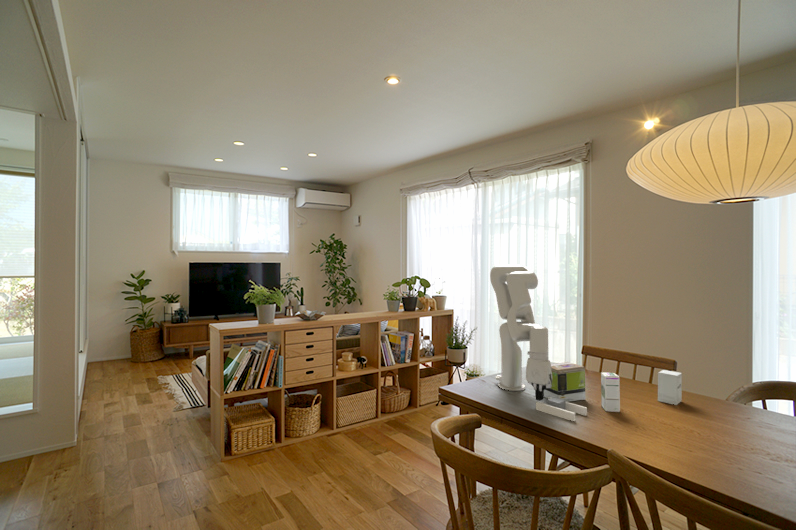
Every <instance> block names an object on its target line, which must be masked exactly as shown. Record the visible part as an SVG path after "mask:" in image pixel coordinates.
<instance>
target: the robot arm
mask: <svg viewBox="0 0 796 530" xmlns="http://www.w3.org/2000/svg"><path fill="white" fill-rule="evenodd" d="M489 278H490V283H491V286H492V288H493V290H494V293H495V297H496V302H497V309H498V313H499V316H500V318H501V319H502V320H506V322H504V323H502V324H501V325H500V326H499V329H498V330H499V337H500V343H501V344H500V346H501V353H500V354H501V357H500V358H501V360H500V361H501V371H500V372H501V373H500V374H501V375H500V374H497V375H496V376H495V380H497V381H499V382H498V383H497V386H499V387H500V389H501V388H502V389H501V390H504V389H505V390H504V391H508V390H509V392H520V391H524V390H525V389H526V385H525V384H524V383H523V351H522V349H521V347H520V345H518V343H519V342H529V351H527V355H529V356H528V357H527V361H526V366H525V367H526V368H525V380H526V381H527V383H528V384H529V385H531V386H532V387H533V390H534V391H535V392H534V393H535V395H534V397H535V401H537V402H541V401H543V400H544V398H545V397H544V390H545V389H546V388H551V387H552V385H551V383H552V368H551V364H552V362H551V360H550V359H549V330H548V327H546V326H543V325H540V324H538V323H536V322H535V317H534V312H533V307H532V306H531V303H532V299H531V296H530V292H529V290H534V289H536V288H537V287H538V284H539V279H538V277H537V275H536V273H535V272H534V271H533V270H532V269H530V268H528V267H527V266H525V265H523V264H498V265H495V266H492V268H491V269H490V273H489ZM518 320H519V321H518ZM499 387H498V388H499Z"/></svg>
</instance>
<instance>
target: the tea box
mask: <svg viewBox="0 0 796 530" xmlns="http://www.w3.org/2000/svg"><path fill="white" fill-rule="evenodd" d="M551 368H552V383H551V385H552V387H551V388H546V389H545V390H544V398H546V399H548V397H551V398H553V397H555V398H558V399H562V400H565V401H566V402H569V403H571V402H575V401H582V400H586V399H587V397H586V368H585V366H583V365H579V364H576V363H574V362H570V361H566V362H565V361H564V362H556V363H551Z"/></svg>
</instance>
